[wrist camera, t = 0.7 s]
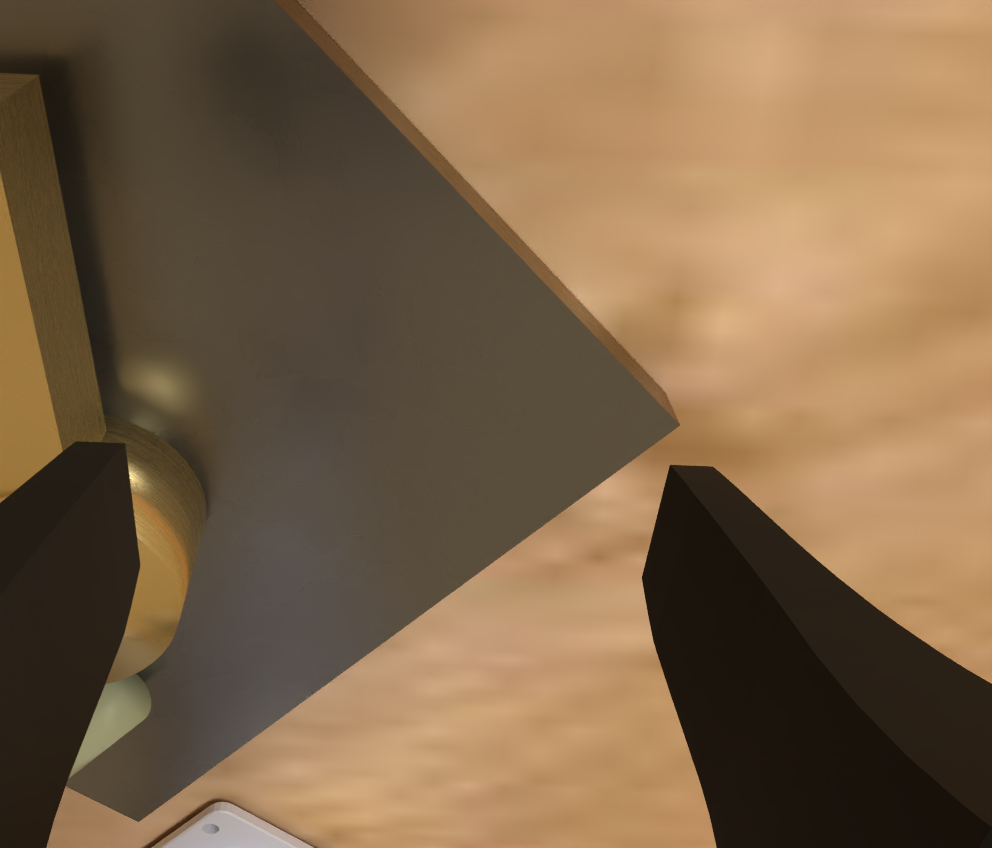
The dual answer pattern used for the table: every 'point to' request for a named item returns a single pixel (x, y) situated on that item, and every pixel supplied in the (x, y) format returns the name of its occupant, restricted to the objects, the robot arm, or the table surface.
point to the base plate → (302, 356)
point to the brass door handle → (77, 379)
